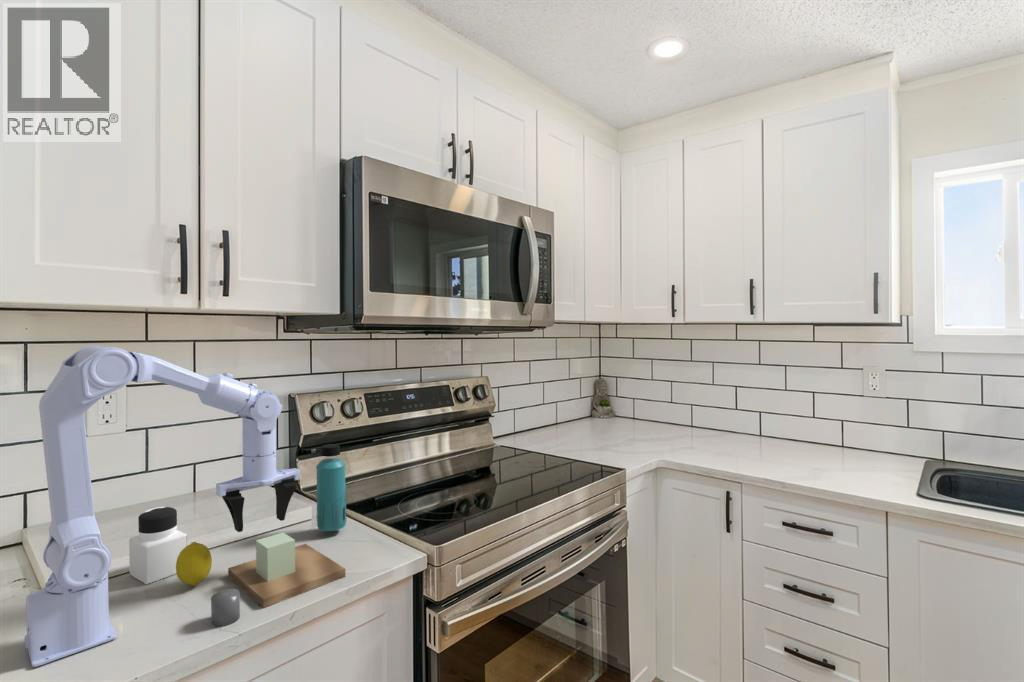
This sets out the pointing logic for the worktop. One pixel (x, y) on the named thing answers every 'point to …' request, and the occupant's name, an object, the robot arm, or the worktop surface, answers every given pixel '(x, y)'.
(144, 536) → the medicine bottle
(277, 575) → the sage block
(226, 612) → the charcoal canister
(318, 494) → the beverage bottle
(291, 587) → the walnut board
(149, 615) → the worktop surface
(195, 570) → the lemon
